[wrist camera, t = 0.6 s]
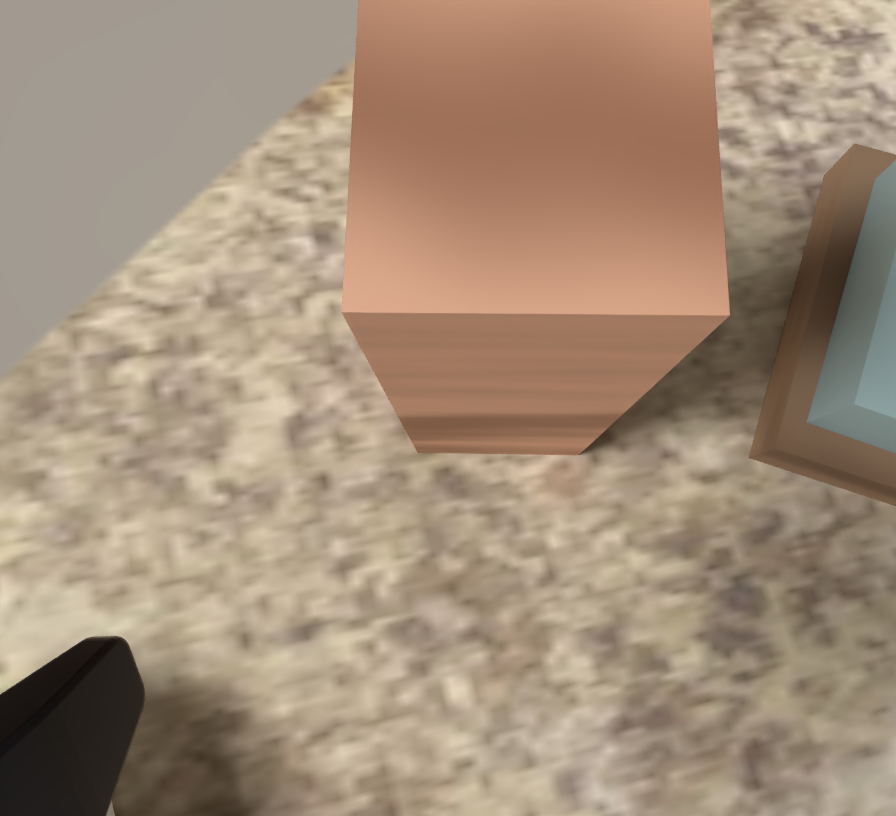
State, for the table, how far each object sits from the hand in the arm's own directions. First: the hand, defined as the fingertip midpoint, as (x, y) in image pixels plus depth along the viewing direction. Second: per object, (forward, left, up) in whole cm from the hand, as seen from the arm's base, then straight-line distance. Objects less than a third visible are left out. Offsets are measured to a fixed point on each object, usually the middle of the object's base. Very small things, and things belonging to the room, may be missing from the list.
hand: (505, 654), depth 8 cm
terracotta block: (+6, +2, -13) cm, 15 cm away
